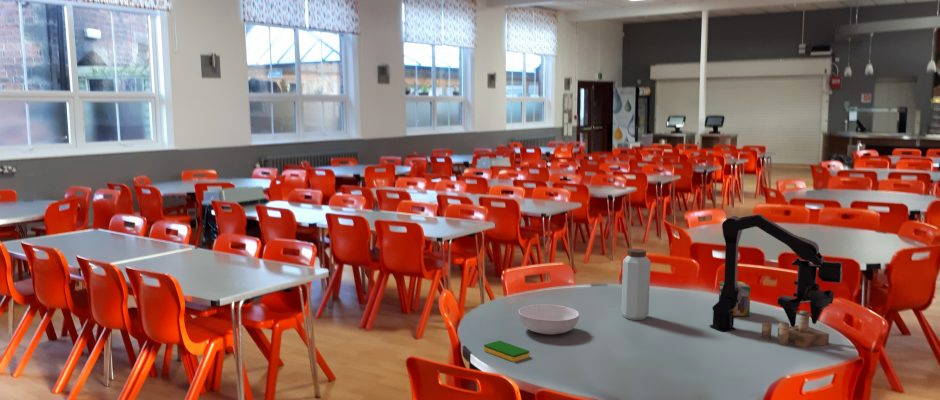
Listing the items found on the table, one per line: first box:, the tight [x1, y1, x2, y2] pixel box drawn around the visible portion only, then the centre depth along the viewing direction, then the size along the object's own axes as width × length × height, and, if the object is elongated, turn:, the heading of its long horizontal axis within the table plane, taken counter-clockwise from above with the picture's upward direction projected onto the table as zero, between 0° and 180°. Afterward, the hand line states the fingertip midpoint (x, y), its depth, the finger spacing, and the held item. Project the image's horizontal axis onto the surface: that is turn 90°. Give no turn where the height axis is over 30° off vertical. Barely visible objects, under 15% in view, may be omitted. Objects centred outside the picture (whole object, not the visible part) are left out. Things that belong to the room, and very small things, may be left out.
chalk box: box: [718, 281, 751, 317], centre depth 281 cm, size 9×9×15 cm
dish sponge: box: [483, 340, 530, 363], centre depth 234 cm, size 7×14×2 cm, turn 41°
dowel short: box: [761, 321, 773, 340], centre depth 252 cm, size 3×3×5 cm
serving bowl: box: [518, 303, 580, 336], centre depth 258 cm, size 21×21×7 cm
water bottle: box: [620, 248, 651, 321], centre depth 274 cm, size 10×10×25 cm
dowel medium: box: [777, 321, 790, 346], centre depth 245 cm, size 3×3×7 cm
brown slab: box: [777, 324, 830, 349], centre depth 249 cm, size 11×11×4 cm
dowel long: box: [798, 310, 811, 333], centre depth 248 cm, size 3×3×10 cm
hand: (803, 325), depth 248 cm, fingers open, 9 cm apart
